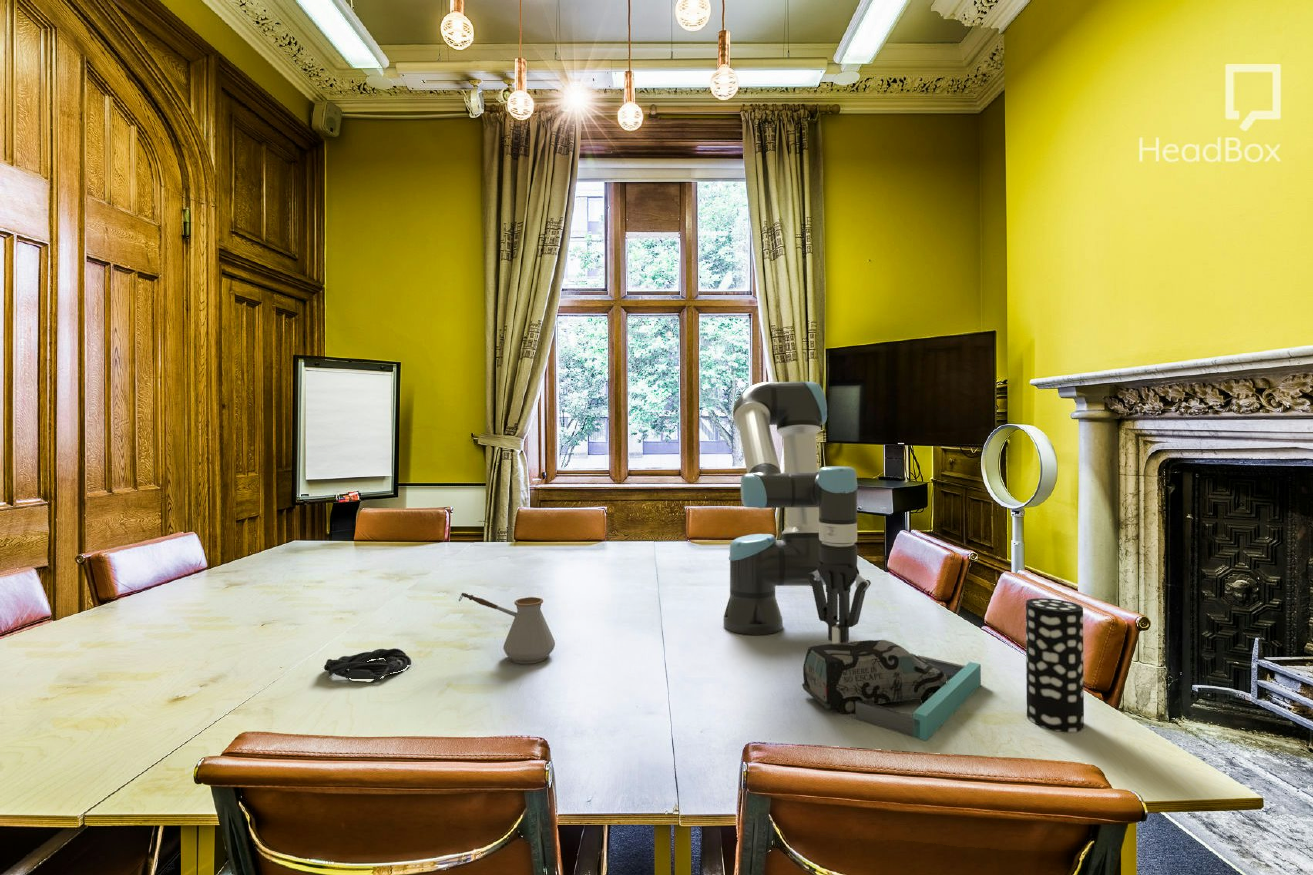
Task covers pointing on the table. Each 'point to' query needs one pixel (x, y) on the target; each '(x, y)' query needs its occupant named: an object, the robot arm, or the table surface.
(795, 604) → the table surface
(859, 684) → the toy car
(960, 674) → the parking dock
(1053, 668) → the white-spotted black cylinder
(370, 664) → the cable
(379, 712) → the table surface
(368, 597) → the table surface
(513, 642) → the coffee pot
